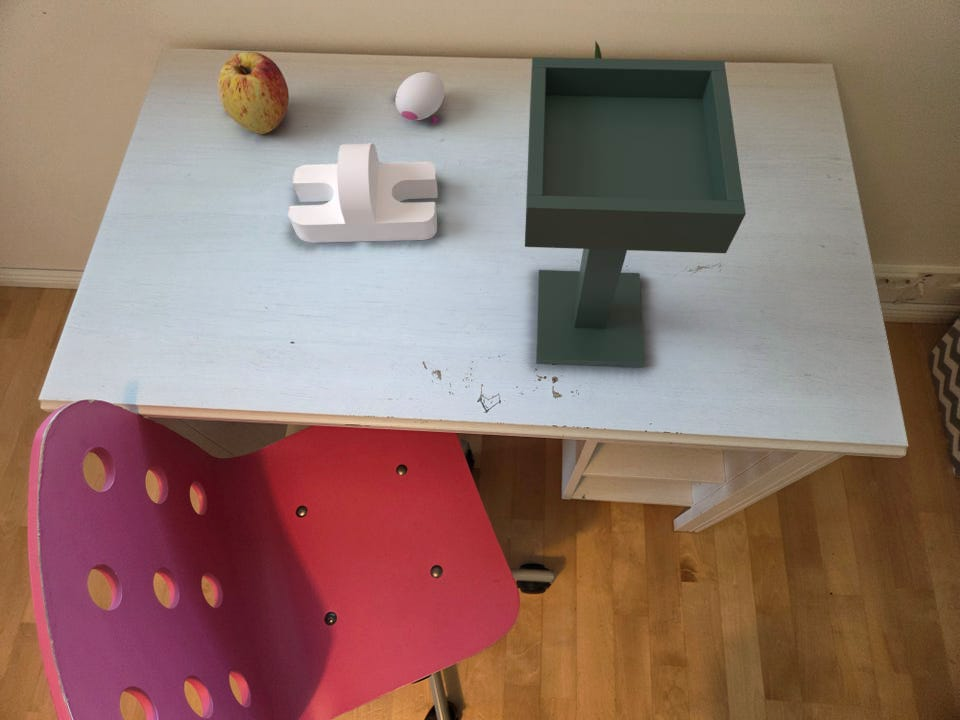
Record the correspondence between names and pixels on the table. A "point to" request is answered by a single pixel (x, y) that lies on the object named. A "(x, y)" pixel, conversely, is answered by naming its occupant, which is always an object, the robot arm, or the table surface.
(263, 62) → the apple
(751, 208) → the table surface
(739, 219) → the green pedestal tray
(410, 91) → the white oval piece
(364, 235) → the slotted bracket
